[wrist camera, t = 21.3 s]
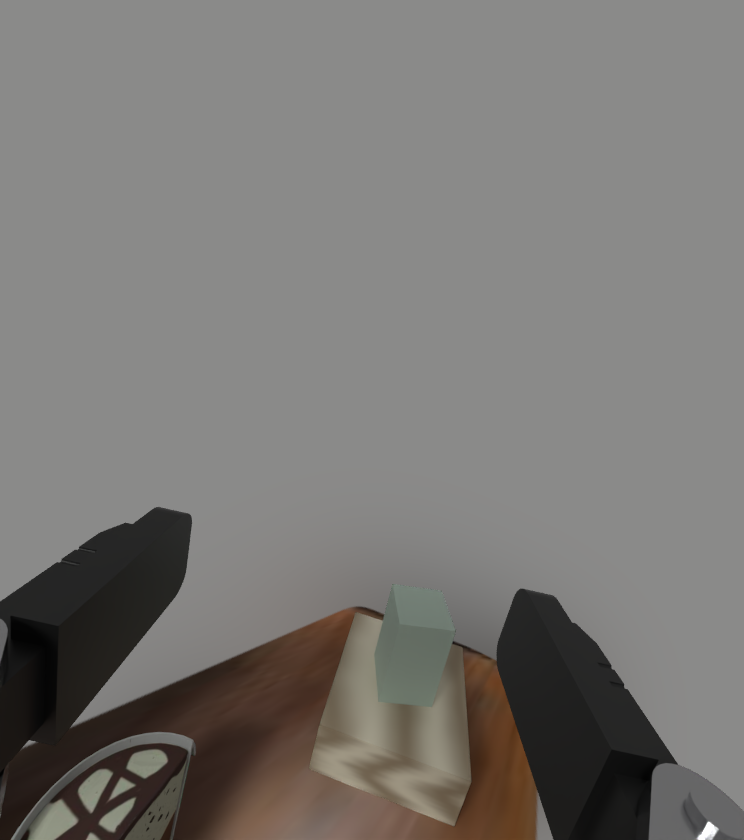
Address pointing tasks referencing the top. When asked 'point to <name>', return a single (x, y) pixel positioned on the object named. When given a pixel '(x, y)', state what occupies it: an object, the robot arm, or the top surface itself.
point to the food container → (116, 793)
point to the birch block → (395, 733)
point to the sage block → (413, 646)
